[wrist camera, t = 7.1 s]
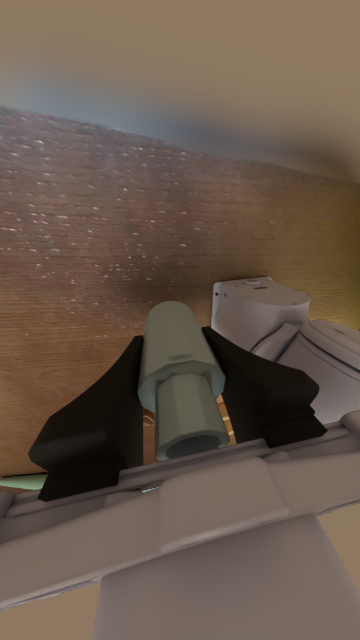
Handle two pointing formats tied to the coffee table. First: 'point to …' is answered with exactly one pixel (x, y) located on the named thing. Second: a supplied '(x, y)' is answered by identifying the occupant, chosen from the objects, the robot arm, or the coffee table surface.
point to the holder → (225, 418)
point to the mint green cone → (25, 481)
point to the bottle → (180, 383)
